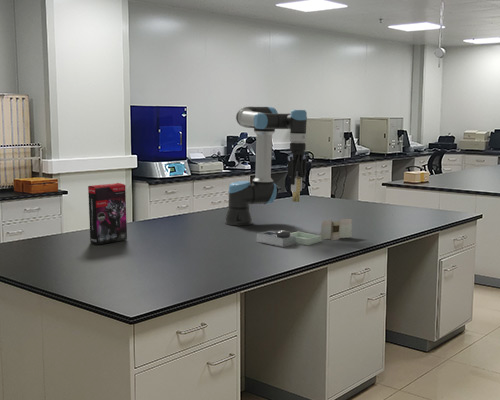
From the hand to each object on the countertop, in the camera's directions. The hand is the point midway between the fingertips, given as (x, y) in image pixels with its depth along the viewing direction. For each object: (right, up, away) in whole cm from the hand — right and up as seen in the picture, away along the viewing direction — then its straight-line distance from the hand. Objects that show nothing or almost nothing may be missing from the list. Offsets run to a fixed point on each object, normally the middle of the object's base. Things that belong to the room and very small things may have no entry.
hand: (296, 190), depth 295 cm
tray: (+3, -25, +5) cm, 25 cm away
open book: (+21, -24, +15) cm, 36 cm away
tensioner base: (-10, -25, 0) cm, 27 cm away
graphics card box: (-89, -24, -6) cm, 93 cm away
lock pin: (0, -5, +1) cm, 5 cm away
